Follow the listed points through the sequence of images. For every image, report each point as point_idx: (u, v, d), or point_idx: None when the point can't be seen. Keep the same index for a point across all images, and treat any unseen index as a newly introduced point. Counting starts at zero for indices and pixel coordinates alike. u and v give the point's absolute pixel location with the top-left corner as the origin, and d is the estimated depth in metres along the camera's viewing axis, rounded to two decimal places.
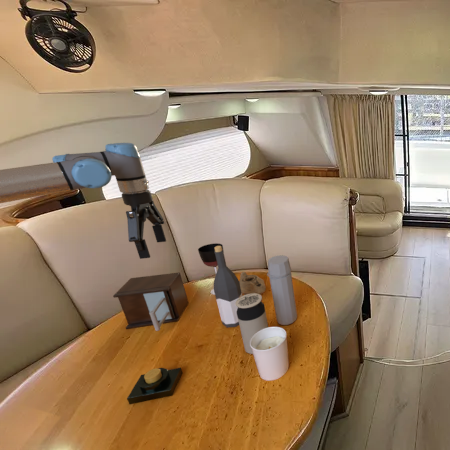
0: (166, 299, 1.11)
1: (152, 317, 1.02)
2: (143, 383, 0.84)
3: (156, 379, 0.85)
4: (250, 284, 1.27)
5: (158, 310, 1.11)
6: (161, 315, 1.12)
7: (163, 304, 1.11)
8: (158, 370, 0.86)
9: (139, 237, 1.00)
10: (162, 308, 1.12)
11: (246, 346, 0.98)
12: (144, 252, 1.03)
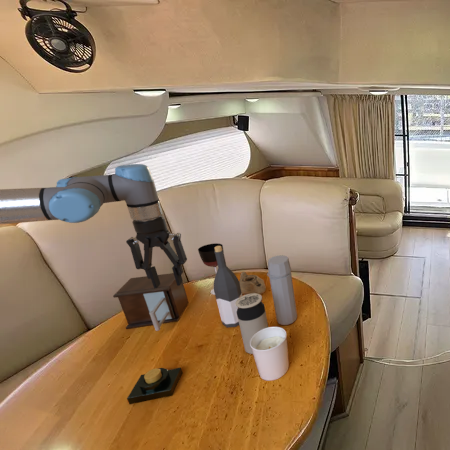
0: (166, 299, 1.11)
1: (152, 317, 1.02)
2: (143, 383, 0.84)
3: (156, 379, 0.85)
4: (250, 284, 1.27)
5: (158, 310, 1.11)
6: (161, 315, 1.12)
7: (163, 304, 1.11)
8: (158, 370, 0.86)
9: None
10: (162, 308, 1.12)
11: (246, 346, 0.98)
12: (180, 277, 1.01)
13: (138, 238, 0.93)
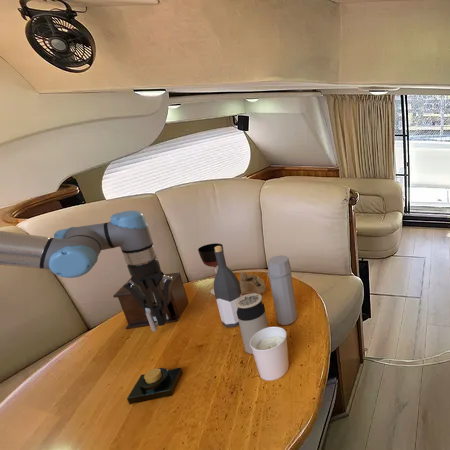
0: None
1: (148, 318, 1.02)
2: (143, 383, 0.84)
3: (156, 379, 0.85)
4: (250, 284, 1.27)
5: None
6: None
7: None
8: (158, 370, 0.86)
9: None
10: None
11: (246, 346, 0.98)
12: (164, 317, 1.04)
13: (133, 280, 0.96)
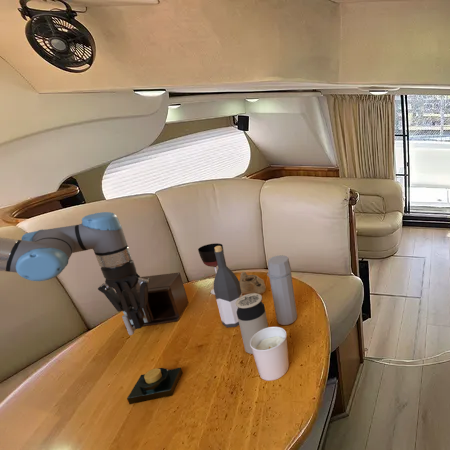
0: None
1: (125, 321, 1.00)
2: (143, 383, 0.84)
3: (156, 379, 0.85)
4: (250, 284, 1.27)
5: None
6: None
7: None
8: (158, 370, 0.86)
9: None
10: None
11: (246, 346, 0.98)
12: (141, 320, 1.03)
13: (107, 283, 0.95)
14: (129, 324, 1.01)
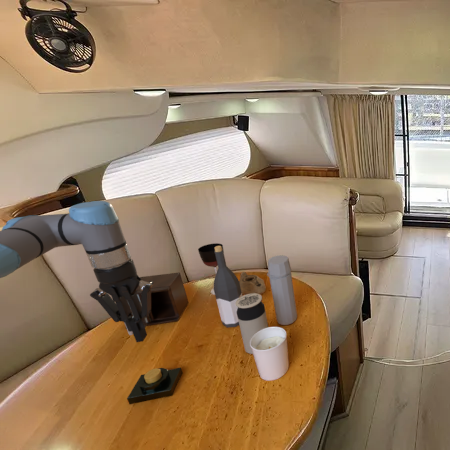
0: (141, 302, 1.09)
1: None
2: (143, 383, 0.84)
3: (156, 379, 0.85)
4: (250, 284, 1.27)
5: None
6: None
7: None
8: (158, 370, 0.86)
9: None
10: None
11: (246, 346, 0.98)
12: (143, 331, 0.86)
13: (102, 288, 0.78)
14: None
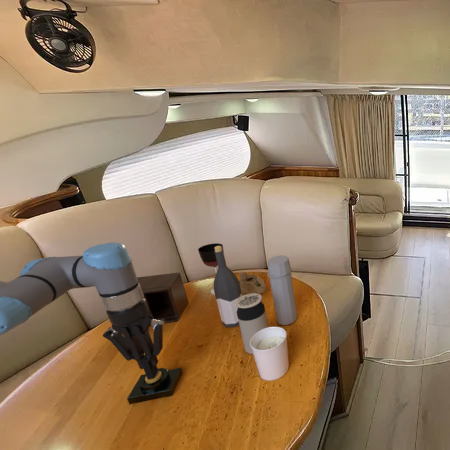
0: None
1: None
2: (143, 383, 0.84)
3: None
4: (250, 284, 1.27)
5: None
6: None
7: None
8: (159, 372, 0.87)
9: None
10: None
11: (246, 346, 0.98)
12: (154, 368, 0.85)
13: (114, 328, 0.78)
14: None
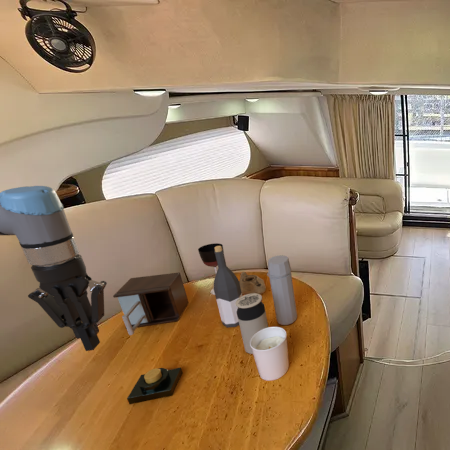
0: (141, 302, 1.09)
1: (125, 321, 1.00)
2: (143, 383, 0.84)
3: (156, 379, 0.85)
4: (250, 284, 1.27)
5: (133, 314, 1.09)
6: (137, 319, 1.10)
7: (138, 307, 1.09)
8: (158, 370, 0.86)
9: None
10: (137, 311, 1.10)
11: (246, 346, 0.98)
12: (94, 338, 0.75)
13: (43, 288, 0.67)
14: (129, 324, 1.01)
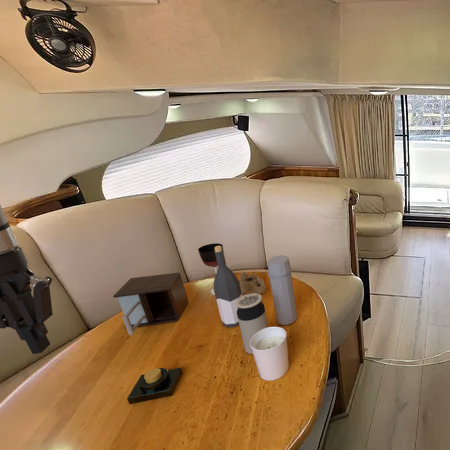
0: (141, 302, 1.09)
1: (125, 321, 1.00)
2: (143, 383, 0.84)
3: (156, 379, 0.85)
4: (250, 284, 1.27)
5: (133, 314, 1.09)
6: (137, 319, 1.10)
7: (138, 307, 1.09)
8: (158, 370, 0.86)
9: None
10: (137, 311, 1.10)
11: (246, 346, 0.98)
12: (43, 340, 0.68)
13: None
14: (129, 324, 1.01)
